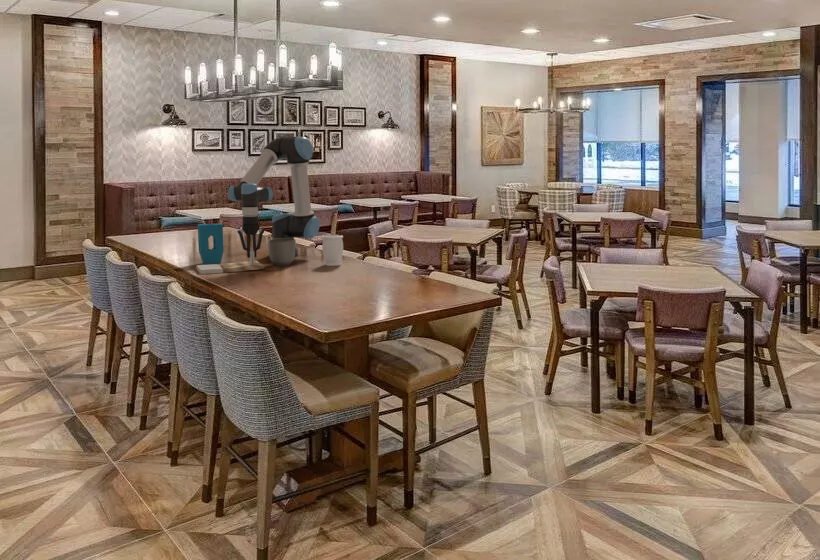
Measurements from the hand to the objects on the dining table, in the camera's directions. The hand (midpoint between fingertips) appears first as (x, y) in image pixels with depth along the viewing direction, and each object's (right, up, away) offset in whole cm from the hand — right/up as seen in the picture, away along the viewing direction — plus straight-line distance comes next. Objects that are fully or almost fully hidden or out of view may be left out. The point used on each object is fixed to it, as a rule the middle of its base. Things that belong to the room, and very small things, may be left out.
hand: (252, 264), depth 373 cm
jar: (+38, 0, +17) cm, 41 cm away
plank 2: (-4, -3, -1) cm, 5 cm away
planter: (+12, 0, +16) cm, 20 cm away
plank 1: (-7, -1, +7) cm, 10 cm away
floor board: (-20, -3, -3) cm, 20 cm away
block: (-25, +1, +21) cm, 33 cm away
